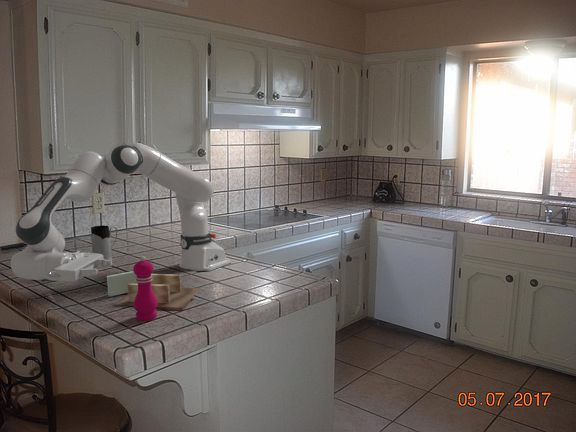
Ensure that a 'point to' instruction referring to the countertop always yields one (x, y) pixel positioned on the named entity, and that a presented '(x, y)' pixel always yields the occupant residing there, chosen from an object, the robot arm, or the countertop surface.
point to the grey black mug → (102, 241)
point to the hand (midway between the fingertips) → (104, 267)
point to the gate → (120, 283)
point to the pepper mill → (144, 291)
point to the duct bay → (163, 292)
